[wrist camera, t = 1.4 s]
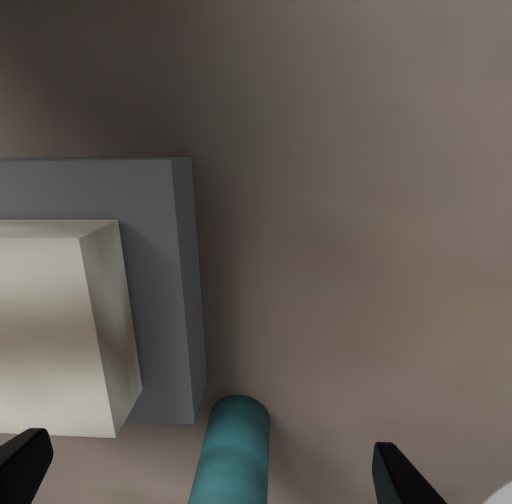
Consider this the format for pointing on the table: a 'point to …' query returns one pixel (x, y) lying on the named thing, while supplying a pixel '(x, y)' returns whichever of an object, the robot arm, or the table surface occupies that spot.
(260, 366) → the table surface
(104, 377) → the sliding lid
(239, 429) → the teal peg
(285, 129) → the table surface
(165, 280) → the socket block
